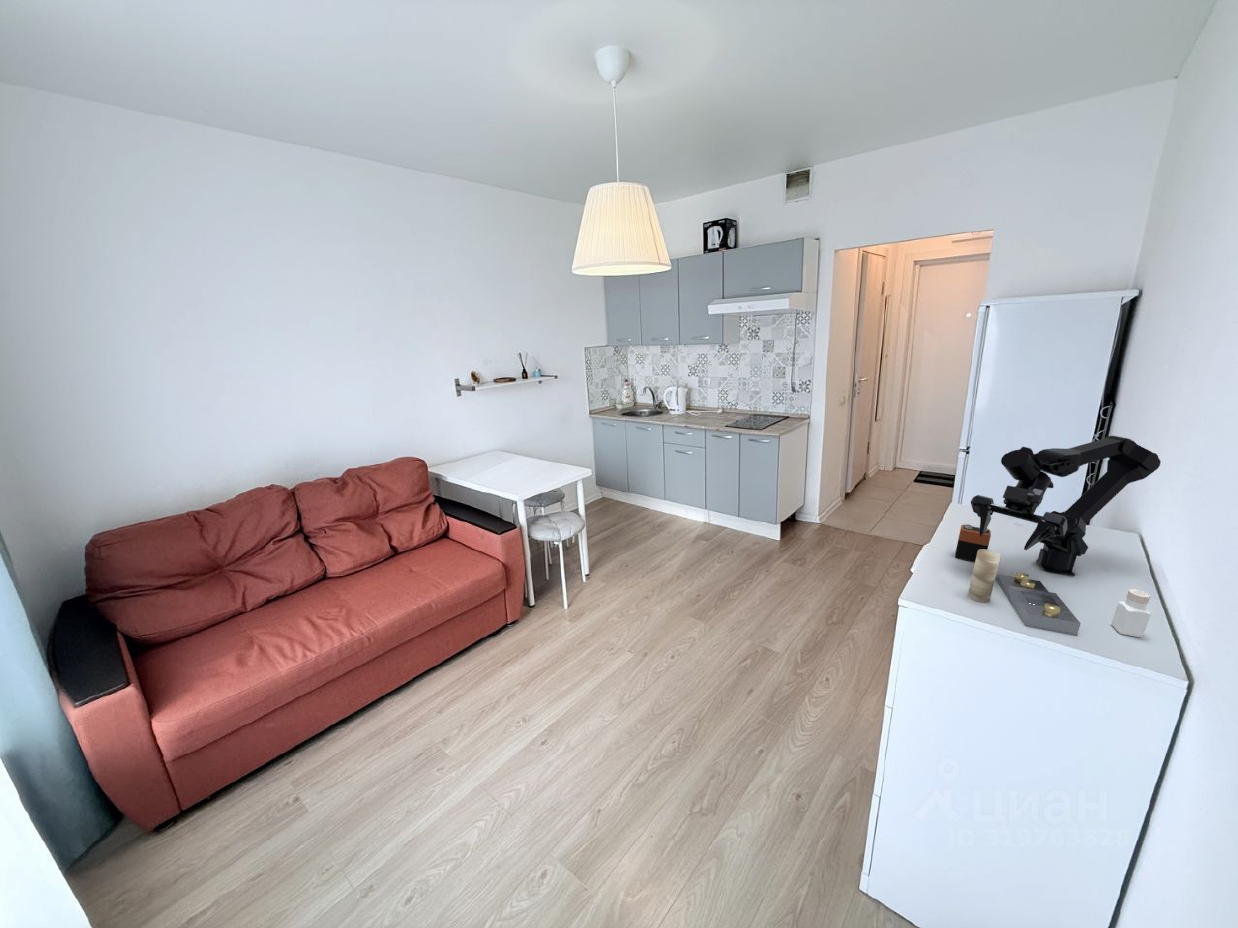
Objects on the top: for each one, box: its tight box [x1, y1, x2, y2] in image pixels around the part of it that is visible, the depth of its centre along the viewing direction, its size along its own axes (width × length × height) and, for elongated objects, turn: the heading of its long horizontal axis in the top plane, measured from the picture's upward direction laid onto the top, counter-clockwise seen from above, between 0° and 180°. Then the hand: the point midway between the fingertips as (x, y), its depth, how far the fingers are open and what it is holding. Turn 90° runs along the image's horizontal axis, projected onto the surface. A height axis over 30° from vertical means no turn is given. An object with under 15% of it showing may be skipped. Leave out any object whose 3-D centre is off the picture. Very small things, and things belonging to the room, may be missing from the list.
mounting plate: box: [995, 571, 1081, 636], centre depth 114 cm, size 9×22×5 cm, turn 157°
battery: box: [955, 523, 992, 563], centre depth 136 cm, size 4×7×10 cm, turn 54°
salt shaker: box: [1111, 588, 1152, 638], centre depth 103 cm, size 4×4×10 cm
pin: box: [967, 549, 1001, 604], centre depth 116 cm, size 4×4×12 cm
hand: (1002, 542), depth 119 cm, fingers open, 9 cm apart
